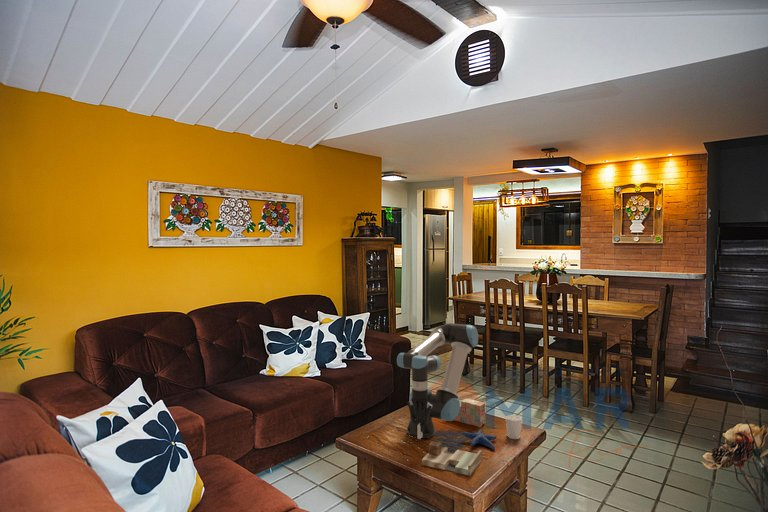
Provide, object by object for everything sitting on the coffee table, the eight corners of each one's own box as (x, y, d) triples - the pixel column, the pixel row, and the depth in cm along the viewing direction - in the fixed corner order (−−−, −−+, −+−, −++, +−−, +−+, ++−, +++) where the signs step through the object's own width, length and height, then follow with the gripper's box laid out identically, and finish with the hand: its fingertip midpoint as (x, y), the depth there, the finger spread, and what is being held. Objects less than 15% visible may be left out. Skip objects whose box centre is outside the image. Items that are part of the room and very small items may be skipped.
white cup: (503, 434, 244) (503, 415, 244) (518, 433, 245) (518, 414, 245) (509, 440, 236) (508, 420, 236) (523, 439, 237) (523, 420, 237)
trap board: (422, 464, 211) (421, 454, 211) (436, 450, 226) (436, 441, 225) (470, 475, 200) (470, 465, 199) (481, 460, 214) (481, 450, 214)
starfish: (480, 455, 219) (480, 445, 219) (455, 441, 235) (455, 432, 235) (509, 446, 229) (508, 436, 229) (482, 433, 245) (482, 424, 245)
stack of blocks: (447, 418, 267) (447, 397, 267) (452, 415, 272) (452, 395, 272) (480, 427, 254) (480, 405, 253) (485, 424, 258) (485, 402, 258)
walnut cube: (428, 454, 216) (428, 444, 216) (432, 450, 220) (432, 441, 220) (437, 456, 214) (437, 446, 213) (441, 452, 217) (441, 442, 217)
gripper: (404, 388, 220) (404, 438, 220) (429, 392, 213) (429, 443, 213) (410, 385, 226) (411, 432, 226) (435, 388, 220) (435, 437, 220)
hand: (420, 437), depth 220 cm, fingers closed
